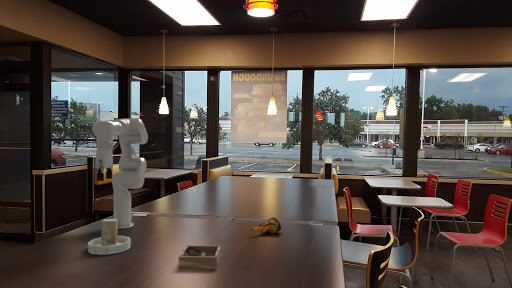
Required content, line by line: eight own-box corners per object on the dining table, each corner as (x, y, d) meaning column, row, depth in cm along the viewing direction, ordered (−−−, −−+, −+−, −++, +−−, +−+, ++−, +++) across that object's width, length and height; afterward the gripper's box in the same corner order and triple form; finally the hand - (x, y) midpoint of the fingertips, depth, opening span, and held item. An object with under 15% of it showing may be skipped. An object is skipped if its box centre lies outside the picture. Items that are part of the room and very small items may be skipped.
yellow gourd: (287, 225, 187) (264, 219, 176) (277, 242, 188) (254, 237, 177) (278, 216, 194) (255, 209, 183) (268, 232, 195) (245, 227, 184)
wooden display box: (186, 255, 151) (186, 245, 151) (220, 255, 151) (220, 245, 151) (178, 268, 136) (178, 256, 136) (216, 268, 136) (216, 257, 136)
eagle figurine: (206, 255, 147) (184, 253, 146) (209, 244, 144) (187, 241, 142) (204, 271, 141) (182, 268, 139) (207, 259, 137) (185, 256, 136)
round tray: (99, 242, 169) (99, 235, 169) (135, 242, 169) (135, 235, 169) (80, 254, 151) (80, 246, 151) (121, 254, 151) (121, 247, 151)
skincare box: (100, 247, 158) (100, 221, 158) (103, 245, 162) (103, 219, 162) (115, 247, 159) (115, 220, 159) (118, 244, 163) (118, 218, 163)
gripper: (104, 145, 182) (104, 178, 182) (89, 145, 164) (89, 181, 164) (119, 145, 182) (119, 178, 182) (104, 146, 164) (104, 182, 164)
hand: (104, 179), depth 173 cm, fingers open, 9 cm apart
